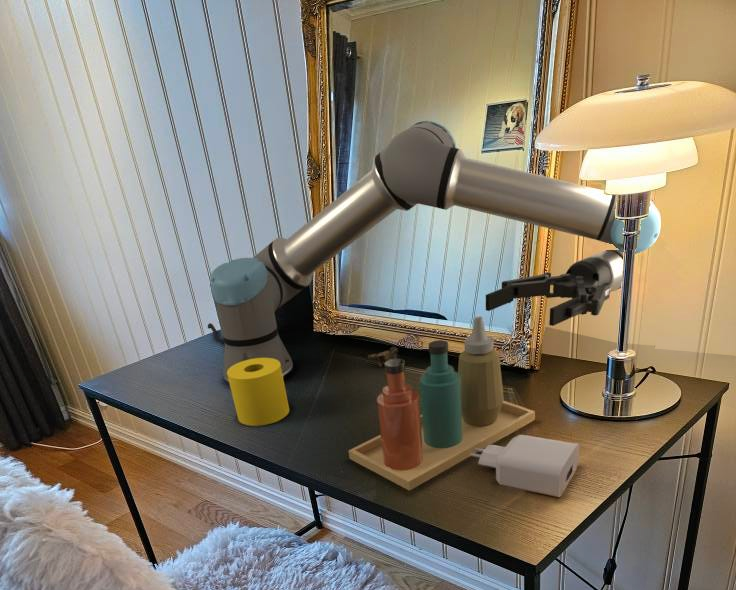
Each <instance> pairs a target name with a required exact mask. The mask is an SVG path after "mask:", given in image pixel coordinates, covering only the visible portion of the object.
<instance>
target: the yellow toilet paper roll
mask: <svg viewBox="0 0 736 590" xmlns="http://www.w3.org/2000/svg"><path fill="white" fill-rule="evenodd" d="M227 375H228V379H229V383H230V386H229V387H230V391H231V396H232V399H233V403H234V407H235V411H236V416H237V420H238V422H239V423H241V424H243V425H245V426H252V427H260V426H265V425H266V426H267V425H270V424H273V423H277V422H279V421H281V420H283V419H284V418H285V417H287V416H288V414H289V413H290V405H289V401H288V396H287V390H286V385H285V381H284V380H285V379H284V380H283V375H282V369H281V364H280V362H279V361H278V360H276V359H273V358H254V359H249V360H245V361H242V362H239V363H237V364H235V365H233V366H231V367H230V368H229V369H228V371H227Z"/></svg>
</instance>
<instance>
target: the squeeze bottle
mask: <svg viewBox="0 0 736 590" xmlns="http://www.w3.org/2000/svg"><path fill="white" fill-rule="evenodd" d="M463 341H464V350H463V351H462V352H461V353H460V354H459V356H458V368H457V373H458V374H459V375H460V378H461V409H462V418H463V420H464V422H465V423H467V424H469V425H472V426H485V425H489V424H492V423H494V422H495V421H496V420H497V417H498V415H499V412H500V409H501V406H502V404H503V401H505V398H504V396H505V395H504V387H503V378H502V377H503V376H502V370H501V368H502V367H501V360H500V359H501V358H500V354H499V351H497V350H496V349H494V338H493V337H492V336H490V335H487V332H486V328H485V324H484V320H483V317H482V316H475V317H474V319H473V324H472V330H471V335H470V336H468V337H466V338H465V339H464V340H463Z"/></svg>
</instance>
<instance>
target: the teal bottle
mask: <svg viewBox="0 0 736 590" xmlns="http://www.w3.org/2000/svg"><path fill="white" fill-rule="evenodd" d="M448 352H449V341H447V340H442V339H437V340H433V341H430V342H429V343H428V353H429V355H430V366H428V367H426V369H425V373H424V374H422V375H421V376H420V378H419V385H420V386H419V388H420V403H421V414H422V418H423V432H424V442H425V443H426V444H427V445H428V446H431V447H434V448H449V447H453V446H455V445H457V444H459V443H460V442H461V441H462V409H461V378H460V375H459V374H458V371H455V368H454V367H453V366H452V365H451V364H449V362H448V361H449V359H448Z"/></svg>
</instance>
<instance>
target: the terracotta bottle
mask: <svg viewBox="0 0 736 590" xmlns="http://www.w3.org/2000/svg"><path fill="white" fill-rule="evenodd" d="M383 367H384V372H385V373H386V380H387V381H386V382H387V385H386V386H384V387H383V388H382V392H381V393H379V395H378V396H377V397H376V405H377V406H376V407H377V414H378V424H379V433H380V434H379V435H381V443H382V452H383V461H384V464H385V466H387V467H389V468H391V469H394V470H408V469H412V468H415V467H417V466H418V465H420V464H421V463H422V461H423V448H422V434H421V420H420V415H421V408H420V395H419V393H418V392H417V391H416V390H413V388H412V386H411V385H410V384H408V383H406V377H405V371H406V363H405V360H404V359H401V358H397V359H391V360H388V361H386V362H385V363H384V364H383Z"/></svg>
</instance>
